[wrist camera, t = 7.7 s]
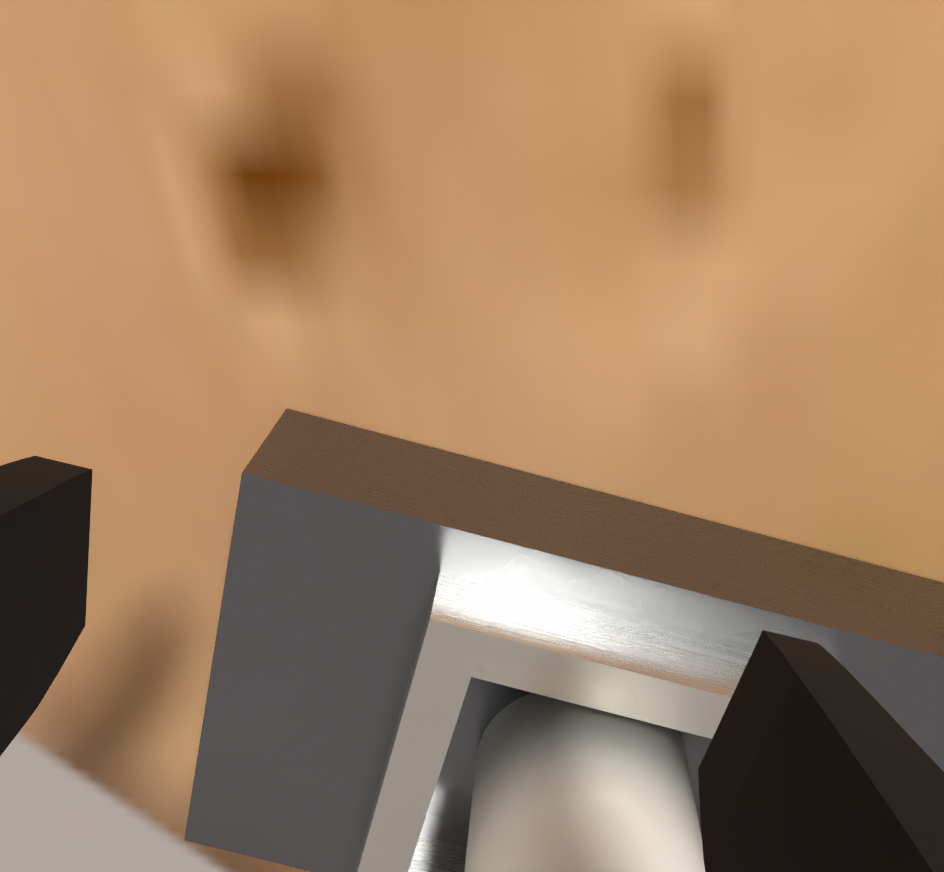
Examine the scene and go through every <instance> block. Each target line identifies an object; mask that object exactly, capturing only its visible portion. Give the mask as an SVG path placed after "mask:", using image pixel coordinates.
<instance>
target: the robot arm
mask: <svg viewBox="0 0 944 872" xmlns="http://www.w3.org/2000/svg"><path fill="white" fill-rule="evenodd" d="M91 487H92V469H88V468H84V467H79V466H75V465H71V464H67V463H63V462H59V461H54V460H50V459H46V458H42V457H38V456H32V457H29V458H25V459H21V460H18V461H14V462H11V463H8V464H5V465H2V466H0V755H1V754H2V753H3V752H4V750H5V749H6V748H7V747H8V745H9V744H10V743H11V741H12V740H13V739H14V737H15V736H16V735H17V734H18V732H19V731H20V730H21V728H22V727H23V726H24V724H25V723H26V722H27V720H28V719H29V718H30V716H31V715H32V714H33V712H34V711H35V710H36V708H37V707H38V705H39V704H40V702H41V700H42V699H43V697H44V695H45V694H46V692H47V690H48V689H49V687H50V685H51V684H52V682H53V680H54V679H55V677H56V676H57V674H58V672H59V671H60V669H61V667H62V665H63V664H64V662H65V660H66V658H67V656H68V655H69V653H70V651H71V649H72V648H73V646H74V644H75V642H76V641H77V639H78V637H79V635H80V634H81V632H82V630H83V628H84V627H85V617H86V596H87V574H88V552H89V530H90V508H91ZM698 779H699V799H700V820H701V833H702V845H703V858H704V866H705V871H706V872H944V772H943V770H942V769H941V768H940V767H939V766H938V765H937V764H936V763H935V762H934V761H933V760H932V759H931V758H930V757H929V756H928V755H927V754H926V753H925V751H924V750H923V749H922V748H921V747H920V746H919V745H918V744H917V743H916V742H915V741H914V740H913V739H912V738H911V737H910V736H909V735H908V733H907V732H906V731H905V730H904V729H903V728H902V727H901V726H900V725H899V724H898V723H897V722H896V721H895V720H894V719H893V717H892V716H891V715H890V714H889V713H888V712H887V711H886V710H885V709H884V708H883V707H882V706H881V705H880V704H879V703H878V702H877V701H876V699H875V698H874V697H873V696H872V695H871V694H870V693H869V692H868V691H867V690H866V689H865V688H864V687H863V686H862V685H861V684H860V683H859V682H858V681H857V680H856V679H855V678H854V677H853V676H852V674H851V673H850V672H849V671H848V670H847V669H846V668H845V667H844V666H843V665H842V664H841V663H839V662H838V661H837V660H836V659H835V658H834V657H833V656H832V655H831V654H830V653H829V652H828V651H827V650H826V649H825V648H823V647H822V646H821V645H820V644H819V643H815V642H811V641H807V640H803V639H799V638H794V637H790V636H786V635H782V634H778V633H773V632H769V631H765V630H763V631H762V633H761V635H760V637H759V639H758V641H757V644H756V646H755V648H754V650H753V652H752V654H751V656H750V659H749V661H748V663H747V665H746V667H745V669H744V672H743V674H742V676H741V678H740V680H739V682H738V684H737V687H736V689H735V691H734V693H733V695H732V697H731V700H730V702H729V704H728V706H727V708H726V710H725V712H724V715H723V717H722V719H721V721H720V723H719V725H718V727H717V730H716V732H715V734H714V736H713V738H712V740H711V743H710V745H709V747H708V749H707V751H706V753H705V755H704V758H703V760H702V762H701V764H700V766H699V768H698Z"/></svg>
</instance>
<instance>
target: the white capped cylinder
mask: <svg viewBox="0 0 944 872" xmlns="http://www.w3.org/2000/svg"><path fill="white" fill-rule="evenodd" d="M464 872H706V871H705V866H704V858H703V845H702V837H701V832H700V826H699V820H698V815H697V809H696V804H695V798H694V793H693V787H692V781H691V776H690V770H689V765H688V759H687V753H686V749H685V746H684V743H683V741H682V738H681V737H680V735H679V733H678V731H677V730H675V729H671V728H667V727H664V726H660V725H656V724H652V723H648V722H644V721H640V720H636V719H633V718H629V717H625V716H621V715H617V714H613V713H609V712H605V711H602V710H598V709H594V708H590V707H586V706H582V705H578V704H574V703H570V702H567V701H563V700H559V699H555V698H551V697H547V696H543V695H539V694H536V693H529V694H527V695H525V696H523V697H521V698H519V699H517V700H515V701H513V702H512V703H510V704H509V705H507V706H506V707H505V708H503V709H502V710H501V711H500V712H499V713H498V714H497V715H496V716H495V717H494V718H493V719H492V720H491V722H490V723H489V724H488V726H487V727H486V729H485V731H484V732H483V734H482V737H481V739H480V742H479V745H478V750H477V756H476V766H475V775H474V785H473V794H472V804H471V813H470V823H469V832H468V842H467V851H466V861H465V870H464Z"/></svg>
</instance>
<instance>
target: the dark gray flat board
mask: <svg viewBox="0 0 944 872" xmlns="http://www.w3.org/2000/svg"><path fill="white" fill-rule="evenodd" d="M763 630H765V631H769V632H773V633H778V634H782V635H786V636H790V637H794V638H799V639H803V640H807V641H811V642H815V643H819V644H820V645H821V646H822V647H823V648H825V649H826V650H827V651H828V652H829V653H830V654H831V655H832V656H833V657H834V658H835V659H836V660H837V661H838V662H839V663H841V664H842V665H843V666H844V667H845V668H846V669H847V670H848V671H849V672H850V673H851V674H852V676H853V677H854V678H855V679H856V680H857V681H858V682H859V683H860V684H861V685H862V686H863V687H864V688H865V689H866V690H867V691H868V692H869V693H870V694H871V695H872V696H873V697H874V698H875V699H876V701H877V702H878V703H879V704H880V705H881V706H882V707H883V708H884V709H885V710H886V711H887V712H888V713H889V714H890V715H891V716H892V717H893V719H894V720H895V721H896V722H897V723H898V724H899V725H900V726H901V727H902V728H903V729H904V730H905V731H906V732H907V733H908V735H909V736H910V737H911V738H912V739H913V740H914V741H915V742H916V743H917V744H918V745H919V746H920V747H921V748H922V749H923V750H924V751H925V753H926V754H927V755H928V756H929V757H930V758H931V759H932V760H933V761H934V762H935V763H936V764H937V765H938V766H939V767H940V768H941V769H942V770H943V772H944V583H942V582H938V581H934V580H931V579H927V578H923V577H919V576H915V575H912V574H908V573H904V572H900V571H897V570H893V569H889V568H885V567H882V566H878V565H874V564H870V563H866V562H863V561H859V560H855V559H851V558H848V557H844V556H840V555H836V554H833V553H829V552H825V551H821V550H817V549H814V548H810V547H806V546H802V545H799V544H795V543H791V542H787V541H784V540H780V539H776V538H772V537H768V536H765V535H761V534H757V533H753V532H750V531H746V530H742V529H738V528H735V527H731V526H727V525H723V524H719V523H716V522H712V521H708V520H704V519H701V518H697V517H693V516H689V515H685V514H682V513H678V512H674V511H670V510H667V509H663V508H659V507H655V506H652V505H648V504H644V503H640V502H636V501H633V500H629V499H625V498H621V497H618V496H614V495H610V494H606V493H603V492H599V491H595V490H591V489H587V488H584V487H580V486H576V485H572V484H569V483H565V482H561V481H557V480H554V479H550V478H546V477H542V476H538V475H535V474H531V473H527V472H523V471H520V470H516V469H512V468H508V467H505V466H501V465H497V464H493V463H489V462H486V461H482V460H478V459H474V458H471V457H467V456H463V455H459V454H456V453H452V452H448V451H444V450H440V449H437V448H433V447H429V446H425V445H422V444H418V443H414V442H410V441H407V440H403V439H399V438H395V437H391V436H388V435H384V434H380V433H376V432H373V431H369V430H365V429H361V428H358V427H354V426H350V425H346V424H342V423H339V422H335V421H331V420H327V419H324V418H320V417H316V416H312V415H309V414H305V413H301V412H297V411H293V410H290V409H286V410H285V412H284V413H283V415H282V416H281V417H280V419H279V420H278V422H277V423H276V425H275V426H274V428H273V429H272V430H271V432H270V433H269V435H268V436H267V438H266V439H265V441H264V442H263V443H262V445H261V446H260V448H259V449H258V451H257V452H256V454H255V455H254V456H253V458H252V459H251V461H250V462H249V464H248V465H247V466H246V468H245V469H244V471H243V472H242V476H241V483H240V489H239V496H238V502H237V508H236V515H235V521H234V527H233V534H232V540H231V547H230V553H229V559H228V566H227V572H226V579H225V585H224V591H223V598H222V604H221V610H220V617H219V623H218V630H217V636H216V642H215V649H214V655H213V662H212V668H211V674H210V681H209V687H208V694H207V700H206V706H205V713H204V719H203V725H202V732H201V738H200V745H199V751H198V757H197V764H196V770H195V777H194V783H193V789H192V796H191V802H190V808H189V815H188V821H187V828H186V834H185V840H187V841H191V842H195V843H199V844H203V845H207V846H211V847H215V848H219V849H223V850H227V851H231V852H235V853H239V854H243V855H247V856H251V857H255V858H259V859H263V860H267V861H271V862H275V863H279V864H283V865H287V866H291V867H295V868H299V869H303V870H307V871H311V872H464V870H465V861H466V851H467V842H468V832H469V823H470V813H471V804H472V794H473V785H474V775H475V766H476V756H477V750H478V745H479V742H480V739H481V737H482V734H483V732H484V731H485V729H486V727H487V726H488V724H489V723H490V722H491V720H492V719H493V718H494V717H495V716H496V715H497V714H498V713H499V712H500V711H501V710H502V709H503V708H505V707H506V706H507V705H509V704H510V703H512V702H513V701H515V700H517V699H519V698H521V697H523V696H525V695H527V694H529V693H536V694H539V695H543V696H547V697H551V698H555V699H559V700H563V701H567V702H570V703H574V704H578V705H582V706H586V707H590V708H594V709H598V710H602V711H605V712H609V713H613V714H617V715H621V716H625V717H629V718H633V719H636V720H640V721H644V722H648V723H652V724H656V725H660V726H664V727H667V728H671V729H675V730H677V731H678V733H679V735H680V737H681V738H682V741H683V743H684V746H685V749H686V753H687V759H688V765H689V770H690V776H691V781H692V787H693V793H694V798H695V804H696V809H697V815H698V820H699V826H700V832H701V820H700V799H699V779H698V768H699V766H700V764H701V762H702V760H703V758H704V755H705V753H706V751H707V749H708V747H709V745H710V743H711V740H712V738H713V736H714V734H715V732H716V730H717V727H718V725H719V723H720V721H721V719H722V717H723V715H724V712H725V710H726V708H727V706H728V704H729V702H730V700H731V697H732V695H733V693H734V691H735V689H736V687H737V684H738V682H739V680H740V678H741V676H742V674H743V672H744V669H745V667H746V665H747V663H748V661H749V659H750V656H751V654H752V652H753V650H754V648H755V646H756V644H757V641H758V639H759V637H760V635H761V633H762V631H763ZM701 837H702V833H701Z"/></svg>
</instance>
